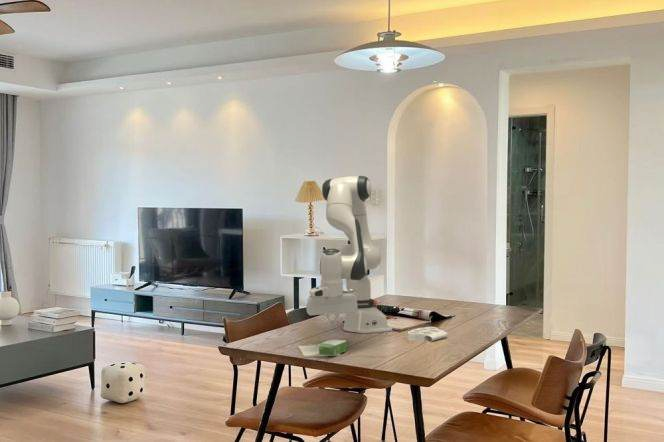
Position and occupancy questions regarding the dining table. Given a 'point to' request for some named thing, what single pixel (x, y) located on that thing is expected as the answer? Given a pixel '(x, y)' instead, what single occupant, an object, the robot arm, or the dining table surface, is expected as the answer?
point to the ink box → (332, 347)
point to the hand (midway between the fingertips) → (332, 324)
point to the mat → (312, 351)
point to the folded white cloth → (427, 334)
